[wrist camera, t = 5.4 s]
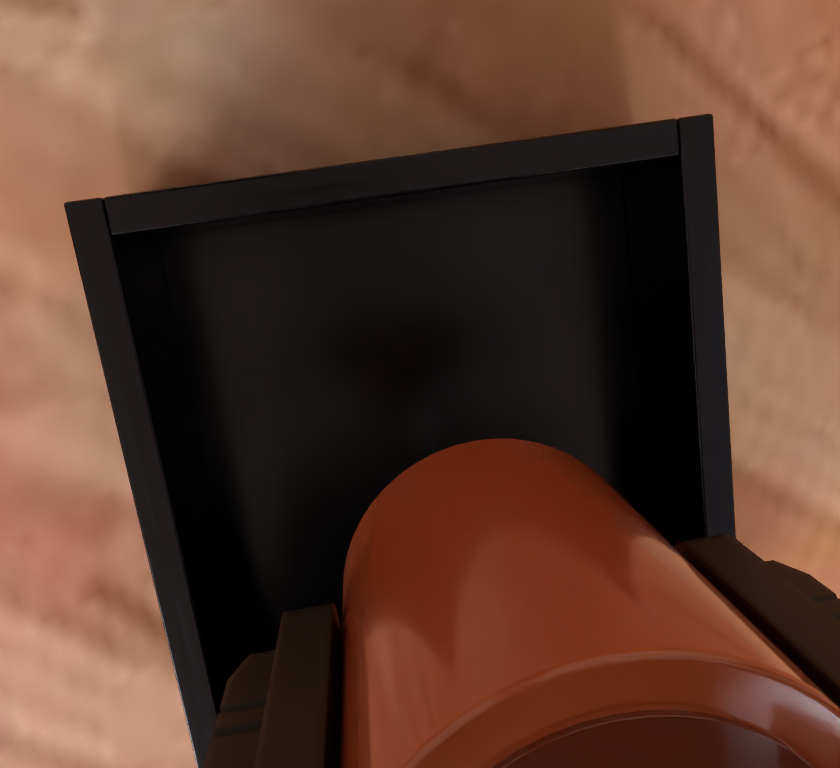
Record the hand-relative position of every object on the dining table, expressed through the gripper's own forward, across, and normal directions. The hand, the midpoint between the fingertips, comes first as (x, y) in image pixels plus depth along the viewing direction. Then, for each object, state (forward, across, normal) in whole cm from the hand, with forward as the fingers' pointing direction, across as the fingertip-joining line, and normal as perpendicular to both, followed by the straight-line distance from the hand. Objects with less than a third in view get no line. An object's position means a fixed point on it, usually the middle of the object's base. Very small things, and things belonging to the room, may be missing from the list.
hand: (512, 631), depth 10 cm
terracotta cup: (+2, 0, 0) cm, 2 cm away
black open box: (+13, 0, +1) cm, 13 cm away
